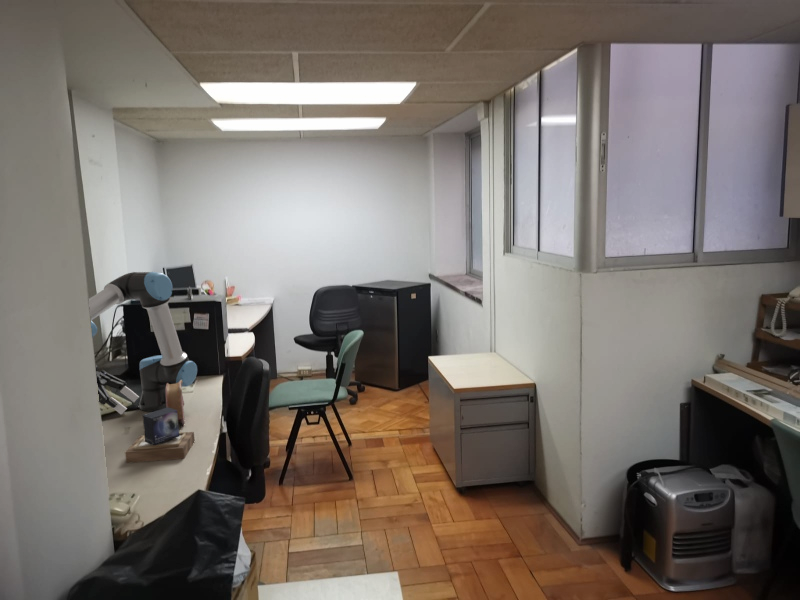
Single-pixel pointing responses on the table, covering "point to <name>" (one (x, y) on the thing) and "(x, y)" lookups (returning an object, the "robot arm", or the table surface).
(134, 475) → the table surface
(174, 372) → the robot arm
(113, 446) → the table surface
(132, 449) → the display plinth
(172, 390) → the face sculpture
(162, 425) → the small box
